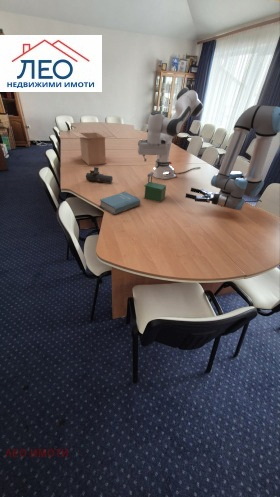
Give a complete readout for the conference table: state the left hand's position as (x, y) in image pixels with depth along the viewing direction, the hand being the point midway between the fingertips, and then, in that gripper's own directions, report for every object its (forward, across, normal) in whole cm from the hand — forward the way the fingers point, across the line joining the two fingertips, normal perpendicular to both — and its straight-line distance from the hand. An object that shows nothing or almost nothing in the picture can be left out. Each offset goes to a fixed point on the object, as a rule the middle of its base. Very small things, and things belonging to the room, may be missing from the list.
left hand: (151, 161), depth 155 cm
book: (+26, -23, -17) cm, 38 cm away
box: (+26, -44, +92) cm, 106 cm away
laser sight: (+26, -38, +31) cm, 56 cm away
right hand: (+15, +24, -17) cm, 34 cm away
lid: (+17, +4, -3) cm, 18 cm away
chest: (+26, +4, -3) cm, 27 cm away
